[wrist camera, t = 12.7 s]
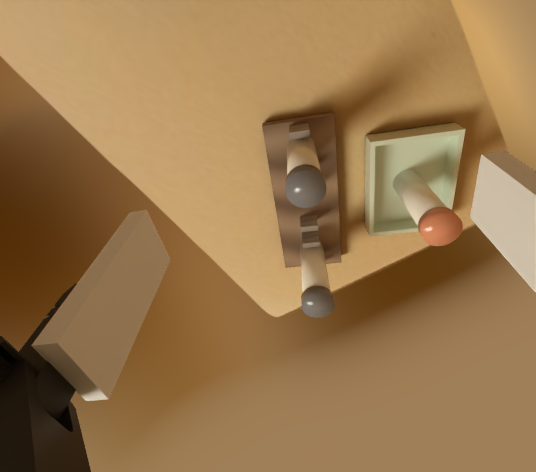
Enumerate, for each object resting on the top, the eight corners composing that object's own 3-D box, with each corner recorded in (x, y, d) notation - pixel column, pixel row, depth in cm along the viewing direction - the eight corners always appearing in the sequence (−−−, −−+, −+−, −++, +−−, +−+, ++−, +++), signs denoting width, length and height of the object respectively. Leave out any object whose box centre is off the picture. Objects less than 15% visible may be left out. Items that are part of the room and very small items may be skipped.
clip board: (262, 122, 42) (260, 132, 38) (333, 112, 41) (337, 121, 37) (285, 262, 55) (285, 279, 51) (340, 256, 53) (344, 274, 50)
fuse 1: (283, 134, 41) (282, 173, 31) (315, 130, 41) (325, 167, 30) (287, 164, 44) (288, 210, 33) (317, 160, 43) (327, 205, 33)
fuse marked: (391, 170, 44) (424, 216, 34) (422, 166, 44) (465, 212, 33) (390, 196, 46) (421, 247, 36) (419, 193, 46) (459, 243, 35)
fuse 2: (297, 238, 50) (300, 296, 40) (323, 235, 50) (333, 293, 39) (299, 258, 52) (303, 318, 42) (325, 256, 52) (335, 316, 41)
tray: (365, 135, 42) (370, 142, 40) (454, 122, 41) (465, 129, 39) (365, 225, 50) (369, 236, 48) (440, 217, 49) (448, 228, 46)
